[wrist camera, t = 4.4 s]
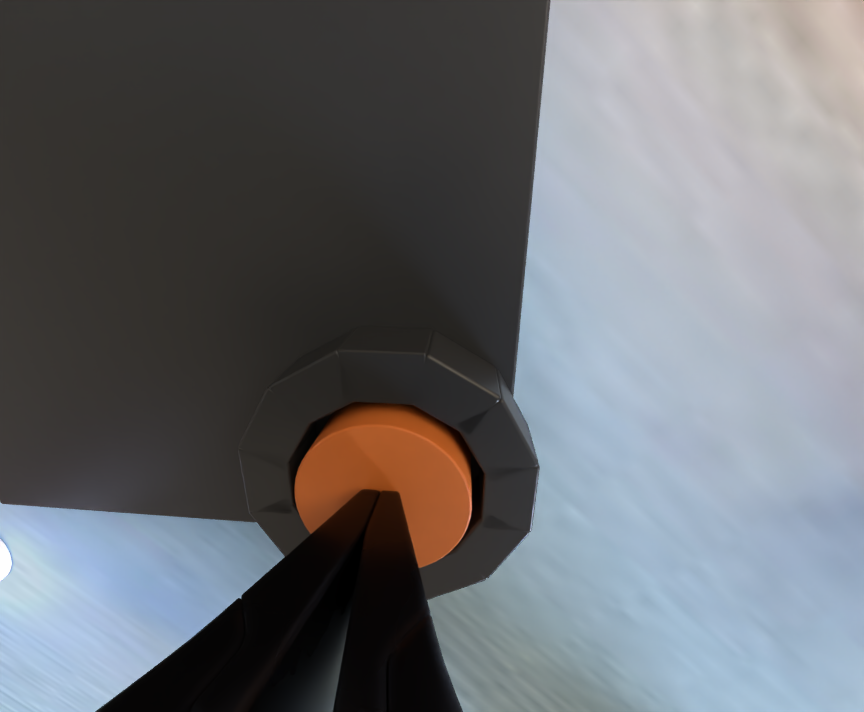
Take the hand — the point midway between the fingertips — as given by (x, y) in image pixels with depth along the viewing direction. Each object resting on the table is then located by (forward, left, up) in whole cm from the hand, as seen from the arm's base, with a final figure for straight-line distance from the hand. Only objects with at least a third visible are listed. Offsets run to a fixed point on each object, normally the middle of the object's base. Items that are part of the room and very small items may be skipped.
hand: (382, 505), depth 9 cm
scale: (+5, -4, -4) cm, 7 cm away
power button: (0, 0, -2) cm, 2 cm away
